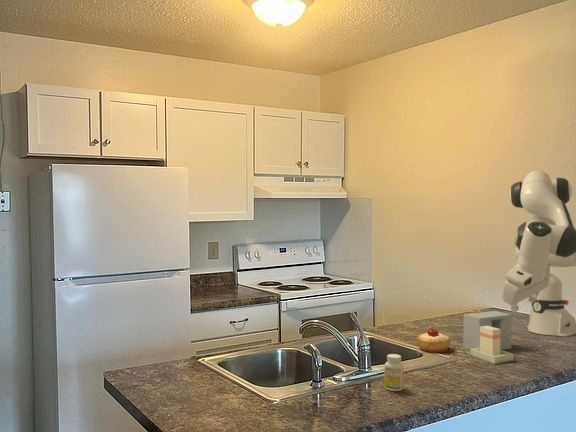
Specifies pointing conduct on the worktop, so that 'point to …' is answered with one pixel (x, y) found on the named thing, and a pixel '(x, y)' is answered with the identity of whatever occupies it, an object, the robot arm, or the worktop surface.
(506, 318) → the dispenser
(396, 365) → the supplement bottle
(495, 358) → the tray
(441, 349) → the pastry
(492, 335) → the pink striped block
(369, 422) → the worktop surface
